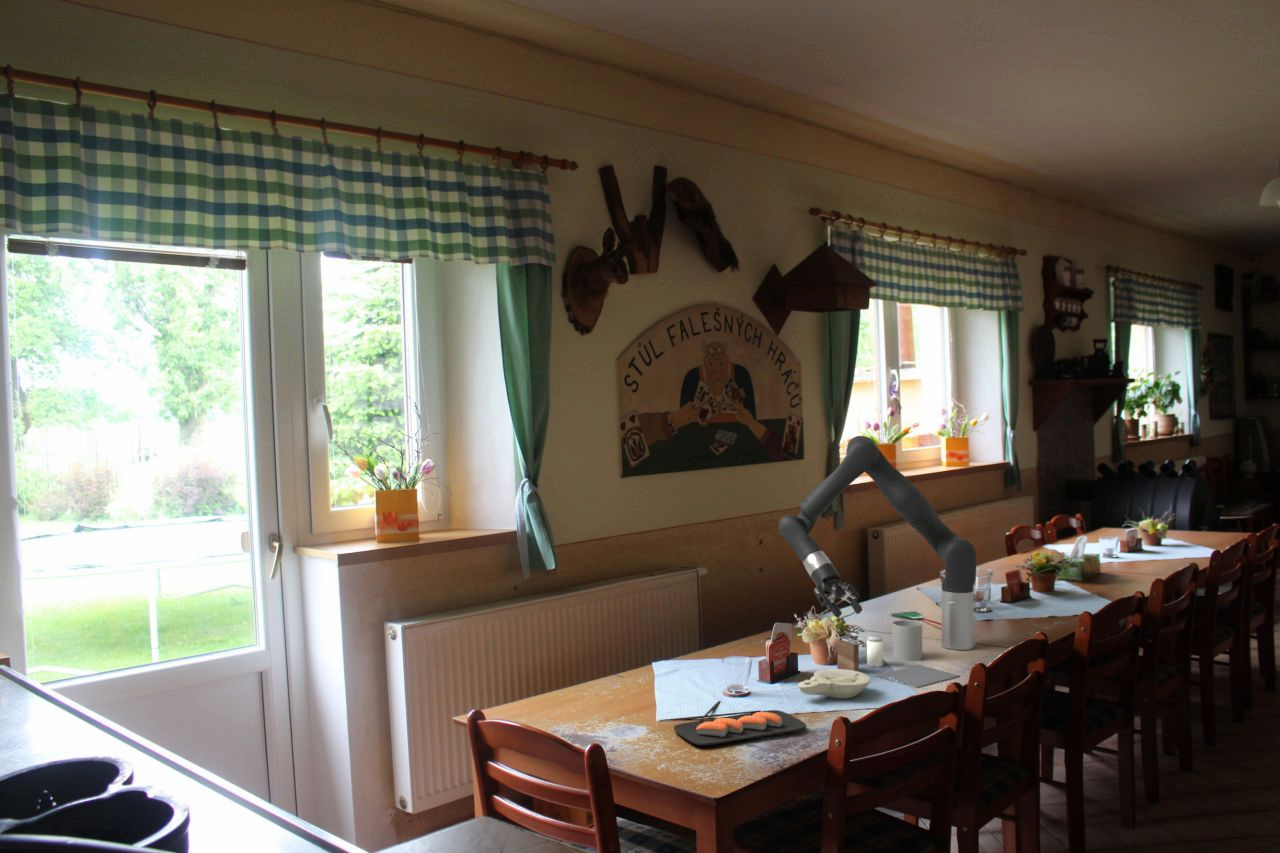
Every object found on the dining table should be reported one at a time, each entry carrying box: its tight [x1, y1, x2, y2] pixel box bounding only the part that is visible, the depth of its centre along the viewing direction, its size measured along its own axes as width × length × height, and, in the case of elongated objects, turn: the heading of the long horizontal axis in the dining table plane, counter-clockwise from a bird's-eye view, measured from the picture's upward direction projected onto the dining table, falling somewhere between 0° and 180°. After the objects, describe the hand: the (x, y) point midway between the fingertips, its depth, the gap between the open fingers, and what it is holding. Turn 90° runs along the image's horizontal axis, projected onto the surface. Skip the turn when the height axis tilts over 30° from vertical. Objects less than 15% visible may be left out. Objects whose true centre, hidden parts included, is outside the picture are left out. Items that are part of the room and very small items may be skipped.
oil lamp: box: [797, 668, 871, 699], centre depth 251 cm, size 21×14×5 cm
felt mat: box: [874, 664, 961, 688], centre depth 269 cm, size 18×14×1 cm
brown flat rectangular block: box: [836, 639, 860, 672], centre depth 275 cm, size 2×6×8 cm, turn 35°
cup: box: [892, 619, 923, 662], centre depth 289 cm, size 8×8×10 cm
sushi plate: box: [658, 700, 807, 746], centre depth 232 cm, size 29×30×4 cm
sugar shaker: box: [866, 635, 884, 668], centre depth 281 cm, size 4×4×8 cm
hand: (849, 614), depth 289 cm, fingers open, 8 cm apart
